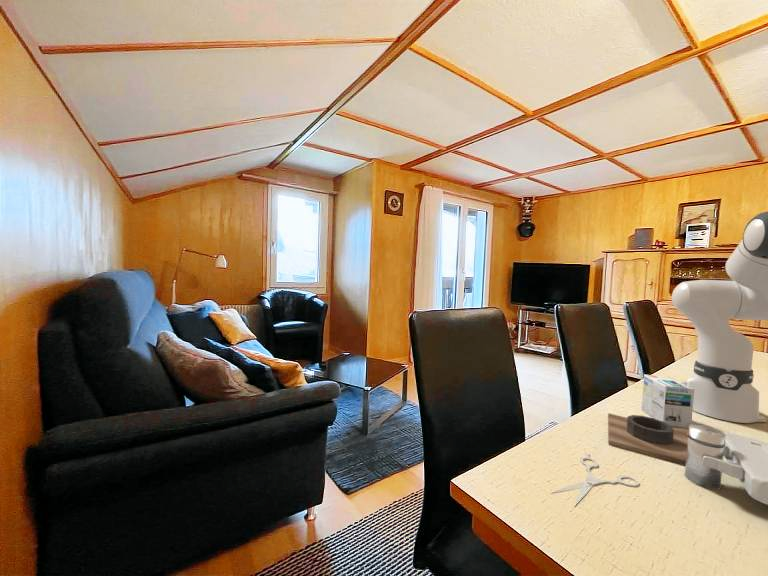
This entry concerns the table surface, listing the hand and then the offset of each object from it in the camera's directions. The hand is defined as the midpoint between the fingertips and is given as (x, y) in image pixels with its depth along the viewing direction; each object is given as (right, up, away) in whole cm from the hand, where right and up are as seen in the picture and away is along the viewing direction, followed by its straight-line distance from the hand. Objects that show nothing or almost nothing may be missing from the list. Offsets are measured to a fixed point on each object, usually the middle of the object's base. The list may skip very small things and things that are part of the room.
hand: (698, 451), depth 64 cm
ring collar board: (+3, -5, +15) cm, 16 cm away
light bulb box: (+17, -5, +27) cm, 33 cm away
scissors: (-22, -6, -2) cm, 23 cm away
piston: (+1, -6, 0) cm, 6 cm away
